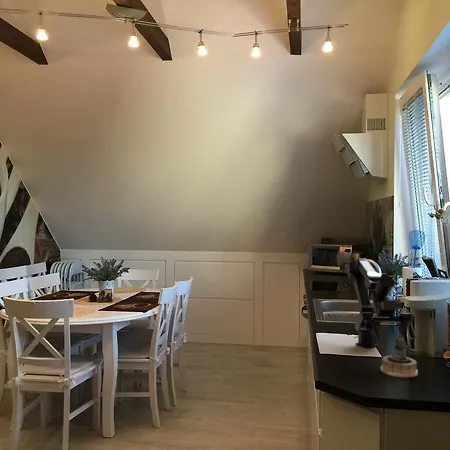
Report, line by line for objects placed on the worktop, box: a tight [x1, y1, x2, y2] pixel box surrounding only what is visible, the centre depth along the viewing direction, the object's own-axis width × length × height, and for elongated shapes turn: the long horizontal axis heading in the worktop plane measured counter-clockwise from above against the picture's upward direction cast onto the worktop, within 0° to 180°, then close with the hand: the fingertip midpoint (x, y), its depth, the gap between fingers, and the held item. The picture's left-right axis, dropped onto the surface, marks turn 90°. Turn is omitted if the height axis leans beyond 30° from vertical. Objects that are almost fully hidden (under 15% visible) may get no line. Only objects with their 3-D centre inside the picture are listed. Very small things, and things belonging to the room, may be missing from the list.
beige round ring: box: [380, 355, 419, 379], centre depth 172 cm, size 12×12×4 cm
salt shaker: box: [390, 333, 409, 364], centre depth 172 cm, size 6×6×12 cm
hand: (391, 340), depth 179 cm, fingers open, 9 cm apart
